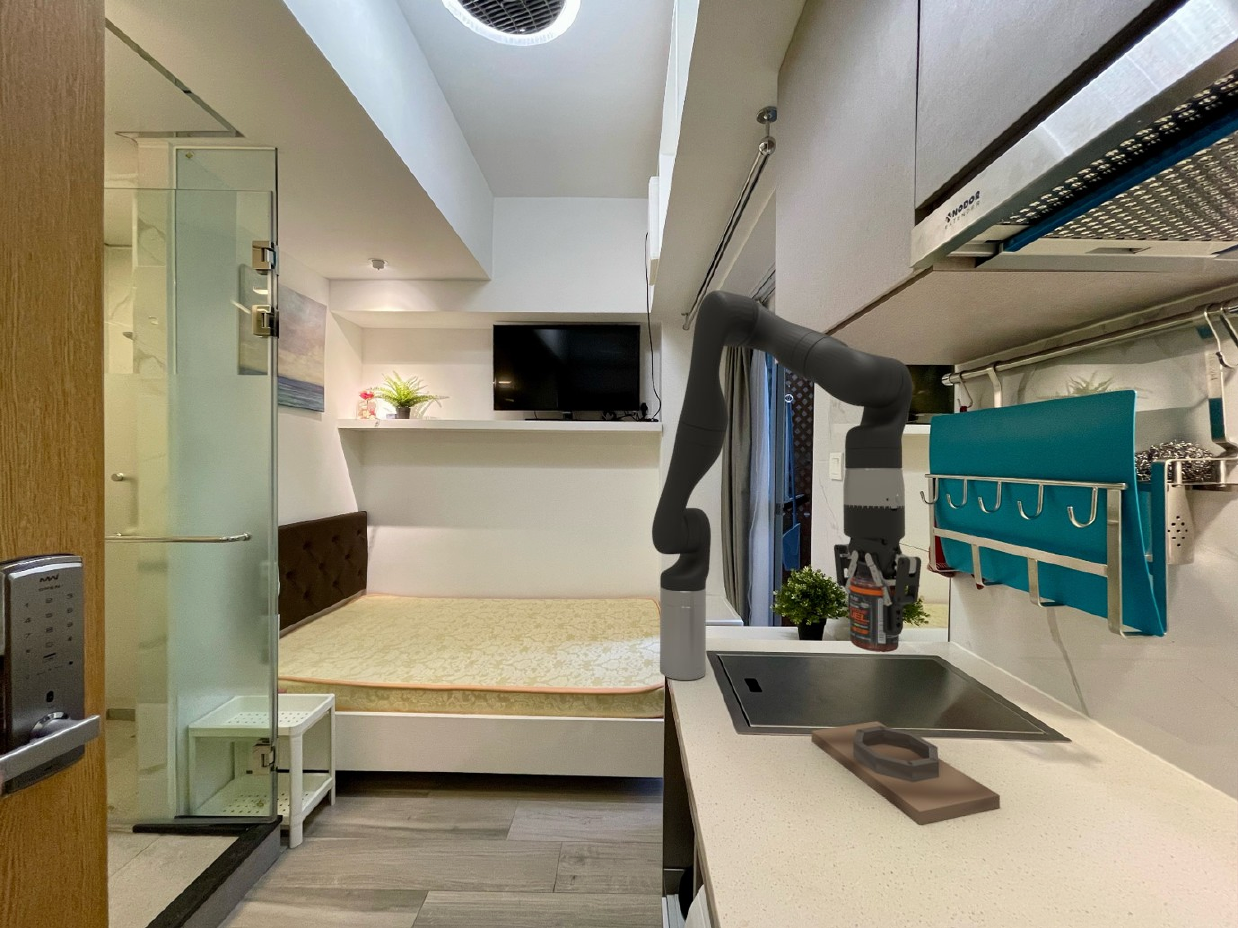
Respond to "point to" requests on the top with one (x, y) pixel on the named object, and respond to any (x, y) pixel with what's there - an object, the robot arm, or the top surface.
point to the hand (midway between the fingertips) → (874, 626)
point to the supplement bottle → (868, 613)
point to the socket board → (908, 793)
